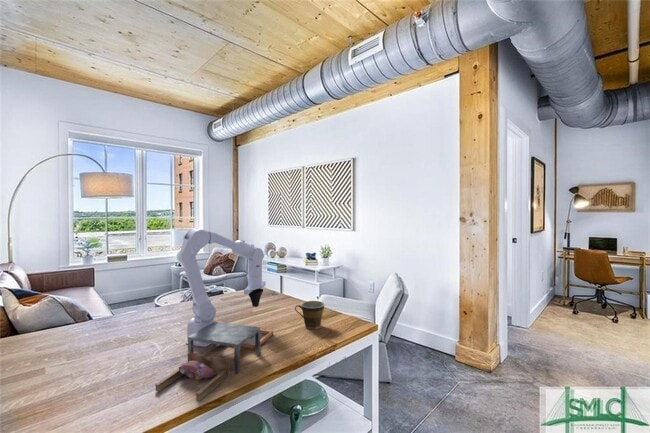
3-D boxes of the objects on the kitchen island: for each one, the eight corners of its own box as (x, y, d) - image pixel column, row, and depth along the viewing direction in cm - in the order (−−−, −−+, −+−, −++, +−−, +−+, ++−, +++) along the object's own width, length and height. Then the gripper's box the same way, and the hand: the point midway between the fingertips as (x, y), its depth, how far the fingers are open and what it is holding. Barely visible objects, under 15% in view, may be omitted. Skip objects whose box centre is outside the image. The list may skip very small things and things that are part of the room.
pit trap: (225, 345, 116) (225, 341, 116) (245, 330, 129) (245, 327, 129) (255, 349, 112) (255, 345, 112) (273, 334, 125) (273, 330, 125)
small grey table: (188, 364, 101) (187, 336, 101) (215, 346, 115) (214, 321, 114) (237, 374, 96) (237, 344, 95) (260, 353, 109) (259, 327, 109)
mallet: (155, 391, 87) (155, 369, 86) (227, 340, 119) (227, 324, 119) (199, 401, 82) (199, 378, 82) (262, 345, 115) (262, 329, 114)
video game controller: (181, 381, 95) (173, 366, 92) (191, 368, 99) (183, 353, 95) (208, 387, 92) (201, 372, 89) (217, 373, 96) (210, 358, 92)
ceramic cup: (325, 323, 138) (325, 301, 137) (323, 332, 128) (323, 308, 127) (297, 321, 139) (297, 300, 139) (292, 330, 129) (292, 307, 129)
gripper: (254, 279, 123) (254, 312, 124) (271, 272, 137) (271, 302, 138) (239, 278, 125) (239, 311, 126) (257, 271, 139) (257, 300, 140)
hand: (255, 306), depth 132 cm, fingers closed
